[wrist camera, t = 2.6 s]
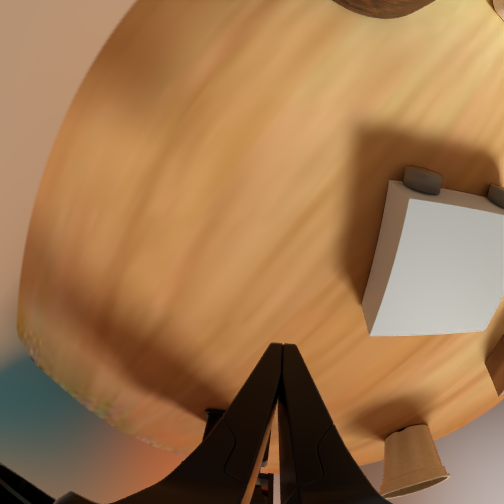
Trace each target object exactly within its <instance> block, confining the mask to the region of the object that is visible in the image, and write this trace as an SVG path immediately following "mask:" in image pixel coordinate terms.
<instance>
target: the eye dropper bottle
mask: <svg viewBox="0 0 504 504" xmlns="http://www.w3.org/2000/svg"><path fill="white" fill-rule="evenodd" d="M493 5H494V8H495V11H496V12H497V14H498V15H499V16H500V17H501V18H502V19H503V20H504V0H493Z"/></svg>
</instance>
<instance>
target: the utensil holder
mask: <svg viewBox="0 0 504 504" xmlns="http://www.w3.org/2000/svg"><path fill="white" fill-rule="evenodd" d="M333 1H335V2H336V3H338V4H339V5H341V6H343V7H345V8H347V9H349V10H351V11H353V12H356V13H358V14H361V15H365V16H368V17H373V18H382V19H389V18H398V17H402V16H406V15H408V14H411V13H413V12H415V11H417V10H419V9H421V8H423V7H424V6H426V5H428V4H430V3H432V2H433V1H435V0H333Z"/></svg>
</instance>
